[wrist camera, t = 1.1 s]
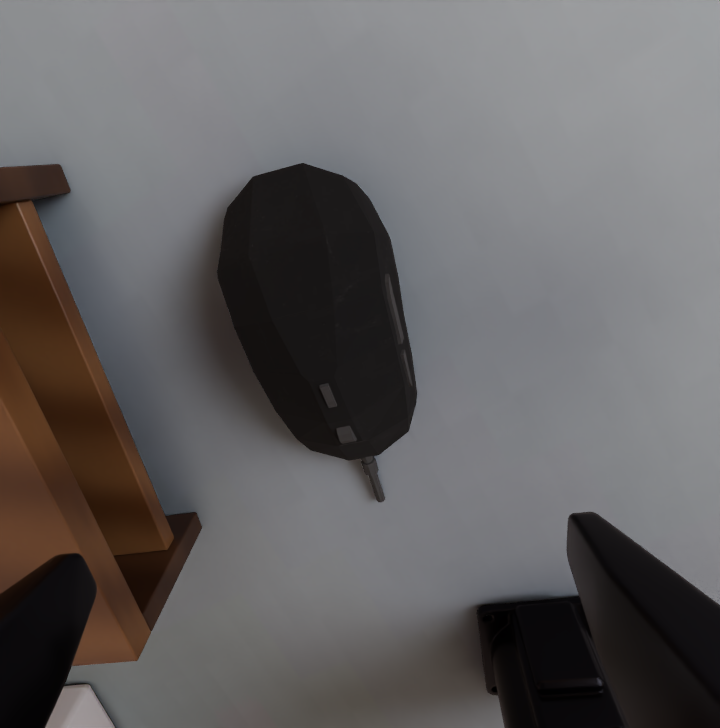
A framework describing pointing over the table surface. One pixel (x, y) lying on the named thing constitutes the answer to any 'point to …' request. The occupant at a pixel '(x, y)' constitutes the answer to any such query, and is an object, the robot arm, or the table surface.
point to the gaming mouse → (320, 311)
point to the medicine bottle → (79, 709)
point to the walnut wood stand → (72, 444)
